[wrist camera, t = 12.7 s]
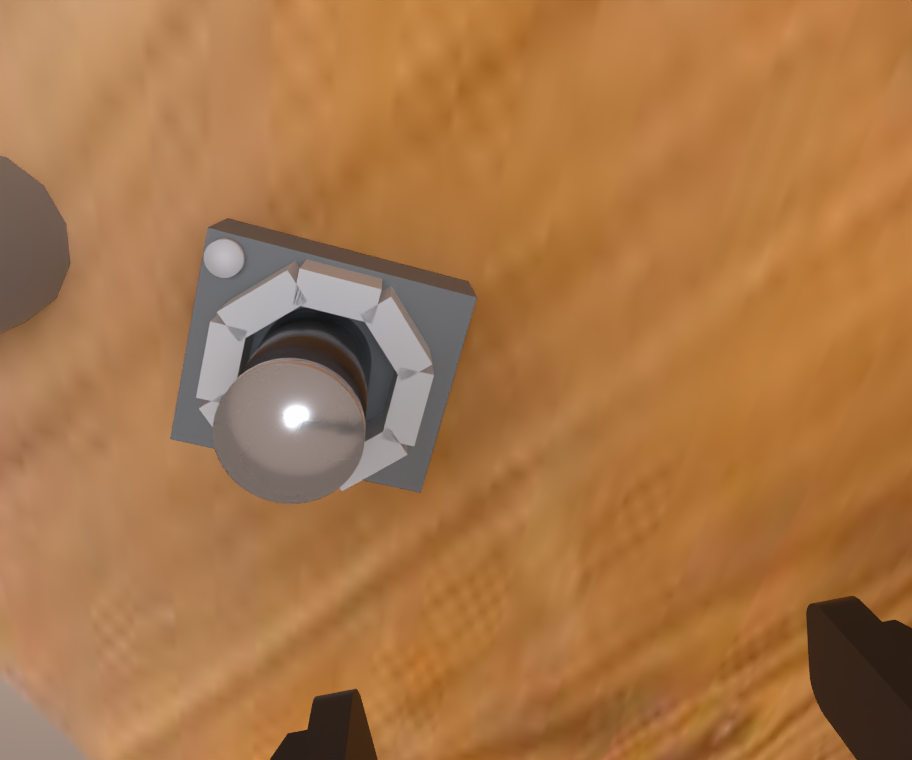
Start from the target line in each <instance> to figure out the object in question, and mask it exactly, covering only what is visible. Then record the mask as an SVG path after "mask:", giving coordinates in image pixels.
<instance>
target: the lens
mask: <svg viewBox="0 0 912 760" xmlns="http://www.w3.org/2000/svg"><path fill="white" fill-rule="evenodd" d="M370 372H371V352H370V348H369V345H368V342H367V340H366V338H365V336H364V334H363V333H362V331H361V330H360V329H359V327H358V326H357V325H356V324H355V323H354V322H353V321H351V320H350V319H349V318H347V317H343V316H339V315H335V314H331V313H327V312H323V311H319V310H315V309H311V308H301V309H297V310H294V311H292V312H289V313H288V314H286V315H284V316H283V317H281V318H280V319H279V320H277V321H276V322H275V323H274V324H273V325H272V327H271V328H270V329H269V331H268V332H267V334H266V335H265V337H264V338H263V340H262V341H261V343H260V344H259V346H258V347H257V349H256V350H255V352H254V353H253V355H252V356H251V358H250V359H249V361H248V362H247V364H246V365H245V367H244V368H243V370H242V372H241V373H240V375H239V376H238V378H237V379H236V380H235V381H234V382H233V383H232V385H231V386H230V387H229V389H228V390H227V392H226V393H225V395H224V396H223V398H222V399H221V401H220V403H219V405H218V407H217V410H216V413H215V416H214V421H213V442H214V447H215V451H216V453H217V456H218V459H219V461H220V462H221V464H222V466H223V468H224V469H225V471H226V472H227V473H228V475H229V476H230V477H231V478H232V479H233V480H234V481H235V482H236V483H237V484H238V485H240V486H241V487H242V488H244V489H245V490H247V491H248V492H250V493H252V494H254V495H256V496H258V497H260V498H263V499H266V500H269V501H273V502H278V503H287V504H294V503H305V502H310V501H314V500H317V499H320V498H322V497H325V496H327V495H329V494H330V493H332V492H334V491H335V490H337V489H338V488H340V487H341V486H342V485H343V484H344V483H345V482H346V481H347V480H348V479H349V478H350V477H351V475H352V474H353V473H354V471H355V469H356V468H357V466H358V464H359V462H360V459H361V457H362V453H363V449H364V442H365V433H366V423H365V419H366V410H367V401H368V391H369V382H370Z"/></svg>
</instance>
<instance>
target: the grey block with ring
mask: <svg viewBox="0 0 912 760" xmlns="http://www.w3.org/2000/svg"><path fill="white" fill-rule="evenodd" d="M476 299H477V297H476V295H475V293H474V291H473V289H472V287H471V286H470V284H469V282H468V281H464V280H460V279H457V278H453V277H449V276H445V275H441V274H438V273H434V272H430V271H426V270H422V269H418V268H415V267H411V266H407V265H403V264H399V263H396V262H392V261H388V260H384V259H380V258H377V257H373V256H369V255H365V254H361V253H357V252H354V251H350V250H346V249H342V248H338V247H335V246H331V245H327V244H323V243H319V242H316V241H312V240H308V239H304V238H300V237H297V236H293V235H289V234H285V233H281V232H277V231H274V230H270V229H266V228H262V227H258V226H255V225H251V224H247V223H243V222H239V221H236V220H232V219H226V220H223V221H221V222H219V223H217V224H215V225H213V226H210V227H208V229H207V235H206V241H205V246H204V252H203V258H202V263H201V269H200V274H199V280H198V286H197V291H196V297H195V303H194V308H193V314H192V320H191V325H190V331H189V336H188V342H187V348H186V353H185V359H184V365H183V370H182V376H181V382H180V387H179V393H178V398H177V404H176V410H175V415H174V421H173V427H172V432H171V438H170V439H172V440H177V441H182V442H186V443H191V444H196V445H200V446H205V447H210V448H214V449H215V447H214V442H213V421H214V416H215V413H216V410H217V407H218V405H219V403H220V401H221V399H222V398H223V396H224V395H225V393H226V392H227V390H228V389H229V387H230V386H231V385H232V383H233V382H234V381H235V380H236V379H237V378H238V376H239V375H240V373H241V372H242V370H243V368H244V367H245V365H246V364H247V362H248V361H249V359H250V358H251V356H252V355H253V353H254V352H255V350H256V349H257V347H258V346H259V344H260V343H261V341H262V340H263V338H264V337H265V335H266V334H267V332H268V331H269V329H270V328H271V327H272V325H273V324H274V323H275V322H276V321H277V320H279V319H280V318H281V317H283V316H284V315H286V314H288V313H289V312H292V311H294V310H297V309H301V308H311V309H315V310H319V311H323V312H327V313H331V314H335V315H339V316H343V317H347V318H349V319H350V320H351V321H353V322H354V323H355V324H356V325H357V326H358V327H359V329H360V330H361V331H362V333H363V334H364V336H365V338H366V340H367V342H368V345H369V348H370V352H371V372H370V382H369V391H368V401H367V410H366V419H365V423H366V433H365V442H364V449H363V453H362V457H361V459H360V462H359V464H358V466H357V468H356V469H355V471H354V473H353V474H352V475H351V477H350V478H349V479H348V480H347V481H346V482H345V483H344V484H343V485H342V486H341V487H340V489H341V491H344V490H345V489H347V488H349V487H351V486H353V485H354V484H356V483H358V482H360V481H361V480H363V481H368V482H373V483H377V484H382V485H387V486H391V487H396V488H401V489H405V490H410V491H415V492H419V493H421V490H422V487H423V483H424V480H425V476H426V473H427V469H428V466H429V462H430V459H431V455H432V452H433V448H434V445H435V441H436V438H437V435H438V431H439V428H440V424H441V421H442V417H443V414H444V410H445V407H446V403H447V400H448V396H449V393H450V389H451V386H452V382H453V379H454V375H455V372H456V368H457V365H458V361H459V358H460V354H461V351H462V347H463V344H464V340H465V337H466V333H467V330H468V326H469V323H470V320H471V316H472V313H473V309H474V306H475V302H476Z"/></svg>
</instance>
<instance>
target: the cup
mask: <svg viewBox="0 0 912 760" xmlns="http://www.w3.org/2000/svg"><path fill="white" fill-rule="evenodd" d="M69 266H70V256H69V247H68V237H67V228H66V223H65V221H64V219H63V218H62V216H61V214H60V213H59V211H58V209H57V208H56V206H55V204H54V202H53V201H52V199H51V197H50V196H49V194H48V192H47V190H46V189H45V187H44V186H43V185H42V184H41V183H39V182H38V181H37V180H35V179H34V178H33V177H31V176H30V175H29V174H28V173H26V172H25V171H24V170H22V169H21V168H20V167H18V166H17V165H16V164H15V163H13V162H12V161H11V160H9V159H8V158H6V157H2V156H0V334H1V333H3V332H5V331H7V330H9V329H11V328H13V327H15V326H17V325H19V324H21V323H23V322H25V321H27V320H29V319H30V318H31V317H33V316H34V315H35V314H36V313H38V312H39V311H40V310H42V309H43V308H44V307H45V306H47V305H48V304H49V303H50V302H52V301H53V300H54V299H56V298H57V295H58V293H59V290H60V288H61V285H62V283H63V280H64V278H65V275H66V273H67V271H68V268H69Z"/></svg>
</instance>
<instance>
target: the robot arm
mask: <svg viewBox="0 0 912 760" xmlns="http://www.w3.org/2000/svg"><path fill="white" fill-rule="evenodd" d="M806 615H807V635H808V653H809V672H810V681H811V685H812V689H813V692H814V695H815V698H816V700H817V703H818V705H819V707H820V709H821V711H822V712H823V714H824V715H825V717H826V718H827V720H828V721H829V722H830V724H831V725H832V726H833V728H834V729H835V731H836V732H837V733H838V735H839V736H840V737H841V739H842V740H843V741H844V743H845V744H846V746H847V747H848V748H849V750H850V751H851V752H852V754H853V755H854V756H855V758H856V759H857V760H912V628H910V627H908V626H906V625H904V624H903V623H901V622H899V621H897V620H891V621H885V622H882V621H881V620H880V619H879V618H878V617H877V616H875V615H874V614H873V613H872V612H871V611H870V610H869V609H868V608H867V607H866V606H865V605H864V604H863V603H862V602H861V601H860V600H859V599H858V598H856V597H854V596H849V597H844V598H838V599H833V600H828V601H823V602H817V603H812V604H810V605H809V606H808V608H807V613H806ZM270 760H377V756H376V752H375V748H374V744H373V741H372V737H371V733H370V730H369V726H368V722H367V718H366V715H365V711H364V707H363V704H362V700H361V696H360V694H359V692H358V690H357V689H353V690H348V691H342V692H337V693H332V694H327V695H321V696H316V697H315V698H314V700H313V704H312V709H311V714H310V719H309V724H308V730H304V731H299V732H293V733H288V734H287V736H286V737H285V738H284V740H283V741H282V743H281V744H280V746H279V747H278V749H277V750H276V752H275V753H274V754H273V756H272V757H271V759H270Z"/></svg>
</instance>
